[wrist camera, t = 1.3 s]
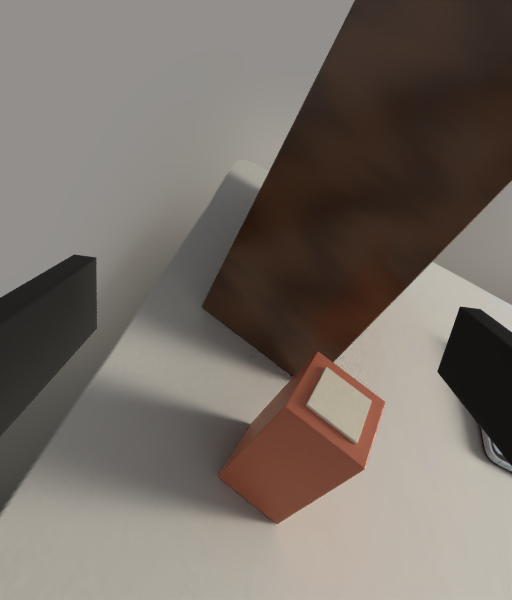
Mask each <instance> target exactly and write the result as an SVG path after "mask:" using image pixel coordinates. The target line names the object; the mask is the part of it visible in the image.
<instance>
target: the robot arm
mask: <svg viewBox="0 0 512 600" xmlns="http://www.w3.org/2000/svg"><path fill="white" fill-rule="evenodd" d="M96 302H97V301H96V258H95V257H88V256H80V255H73V256H71V257H69V258H68V259H66V260H64V261H62V262H61V263H59V264H57V265H56V266H54V267H52V268H51V269H49V270H47V271H46V272H44V273H42V274H40V275H38V276H37V277H35V278H34V279H32V280H30V281H28V282H26V283H25V284H23V285H21V286H20V287H18V288H16V289H15V290H13V291H11V292H9V293H8V294H6V295H4V296H3V297H1V298H0V436H1V435H2V434H3V433H4V431H5V430H6V429H7V428H8V427H9V426H10V424H12V422H13V421H14V420H15V419H16V418H17V417H18V416H19V415H20V414H21V412H22V411H23V410H24V409H25V408H26V407H27V406H28V405H29V404H30V402H31V401H32V400H33V399H34V398H35V397H36V396H37V394H38V393H39V392H40V391H41V390H42V389H43V388H44V387H45V386H46V385H47V383H48V382H49V381H50V380H51V379H52V378H53V377H54V376H55V375H56V373H57V372H58V371H59V370H60V369H61V368H62V367H63V366H64V364H65V363H66V362H67V361H68V360H69V359H70V358H71V357H72V356H73V354H74V353H75V352H76V351H77V350H78V349H79V348H80V346H81V345H82V344H83V343H84V342H85V341H86V340H87V339H88V338H89V337H90V335H91V334H92V333H93V332H94V331H95V330H96V329H97V323H96V322H97V315H96V314H97V311H96V310H97V308H96V307H97V305H96V304H97V303H96ZM438 373H439V375H440V376H441V377H442V378H443V380H444V381H445V382H446V383H447V385H448V386H449V387H450V388H451V390H452V391H453V392H454V394H455V395H456V396H457V397H458V399H459V400H460V401H461V402H462V404H463V405H464V406H465V408H466V409H467V410H468V411H469V413H470V414H471V415H472V416H473V418H474V419H475V420H476V422H477V423H478V424H479V425H480V427H481V428H482V429H483V430H484V432H485V433H486V434H487V435H488V437H489V438H490V439H491V441H492V442H493V443H494V444H495V446H496V447H497V448H498V449H499V451H500V452H501V453H502V455H503V456H504V457H505V458H506V460H507V461H508V462H509V463H510V465H511V466H512V332H511V331H509V330H508V329H506V328H505V327H504V326H502V325H501V324H500V323H498V322H497V321H496V320H494V319H493V318H492V317H490V316H489V315H488V314H486V313H485V312H483V311H482V310H481V309H474V308H467V307H460V308H459V311H458V314H457V317H456V320H455V323H454V326H453V328H452V331H451V334H450V337H449V340H448V343H447V346H446V349H445V351H444V354H443V357H442V360H441V363H440V366H439V369H438Z"/></svg>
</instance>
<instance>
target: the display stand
mask: <svg viewBox="0 0 512 600" xmlns="http://www.w3.org/2000/svg"><path fill="white" fill-rule="evenodd" d="M511 181H512V0H355V1H354V3H353V5H352V7H351V9H350V11H349V13H348V15H347V17H346V19H345V21H344V23H343V25H342V27H341V29H340V31H339V33H338V35H337V37H336V39H335V41H334V43H333V45H332V48H331V49H330V51H329V53H328V55H327V57H326V59H325V61H324V63H323V65H322V67H321V69H320V71H319V73H318V75H317V77H316V79H315V81H314V83H313V85H312V87H311V89H310V91H309V93H308V95H307V97H306V99H305V101H304V103H303V105H302V107H301V109H300V111H299V113H298V115H297V117H296V119H295V121H294V123H293V125H292V127H291V129H290V131H289V133H288V135H287V137H286V139H285V141H284V143H283V145H282V147H281V149H280V151H279V153H278V155H277V157H276V159H275V161H274V163H273V165H272V167H271V169H270V171H269V173H268V175H267V177H266V179H265V181H264V183H263V185H262V187H261V189H260V191H259V193H258V195H257V197H256V199H255V201H254V203H253V205H252V207H251V209H250V211H249V213H248V215H247V217H246V219H245V221H244V223H243V225H242V227H241V229H240V231H239V233H238V235H237V237H236V239H235V241H234V243H233V245H232V247H231V249H230V251H229V253H228V255H227V257H226V259H225V261H224V263H223V265H222V267H221V269H220V271H219V273H218V275H217V277H216V279H215V281H214V283H213V285H212V287H211V289H210V291H209V293H208V295H207V297H206V299H205V301H204V303H203V305H202V307H203V308H204V309H205V310H207V311H208V312H209V313H211V314H212V315H213V316H215V317H216V318H217V319H218V320H220V321H221V322H222V323H224V324H225V325H226V326H228V327H229V328H230V329H232V330H233V331H234V332H235V333H237V334H238V335H239V336H241V337H242V338H243V339H245V340H246V341H247V342H249V343H250V344H251V345H252V346H254V347H255V348H256V349H258V350H259V351H260V352H262V353H263V354H264V355H265V356H267V357H268V358H269V359H271V360H272V361H273V362H275V363H276V364H277V365H279V366H280V367H281V368H282V369H284V370H285V371H286V372H288V373H289V374H290V375H292V376H293V377H294V376H295V375H296V374H297V372H298V371H299V370H300V369H301V368H302V367H303V366H304V365H305V364H306V362H307V361H308V360H309V359H310V358H311V357H312V356H313V355H314V354H315V353H316V352H317V351H318V352H320V353H321V354H322V355H324V356H325V357H326V358H328V359H329V360H330V361H332V362H334V361H335V360H336V359H337V358H338V357H339V356H340V355H341V354H342V353H343V352H344V351H345V350H346V349H347V348H348V347H349V346H350V345H351V344H352V343H353V342H354V341H355V340H356V339H357V338H358V337H359V336H360V335H361V334H362V333H363V332H364V331H365V330H366V329H367V328H368V327H369V325H370V324H371V323H372V322H373V321H374V320H375V319H376V318H377V317H378V316H379V315H380V314H381V313H382V312H383V311H384V310H385V309H386V308H387V307H388V306H389V305H390V304H391V303H392V302H393V301H394V300H395V299H396V298H397V297H398V296H399V295H400V294H401V293H402V292H403V291H404V290H405V289H406V288H407V287H408V286H409V285H410V284H411V283H412V282H413V281H414V280H415V279H416V278H417V277H418V276H419V275H420V274H421V273H422V272H423V271H424V270H425V269H426V268H427V267H428V266H429V265H430V264H431V262H432V261H433V260H434V259H435V258H436V257H437V256H438V255H439V254H440V253H441V252H442V251H443V250H444V249H445V248H446V247H447V246H448V245H449V244H450V243H451V242H452V241H453V240H454V239H455V238H456V237H457V236H458V235H459V234H460V233H461V232H462V231H463V230H464V229H465V228H466V227H467V226H468V225H469V224H470V223H471V222H472V221H473V220H474V219H475V218H476V217H477V216H478V215H479V214H480V213H481V212H482V211H483V209H485V208H486V207H487V206H488V204H490V203H491V202H492V200H493V199H494V198H495V197H496V196H497V195H498V194H499V193H500V192H501V191H502V190H503V189H504V188H505V187H506V186H507V185H508V184H509V183H510V182H511Z"/></svg>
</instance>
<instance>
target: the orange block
mask: <svg viewBox="0 0 512 600" xmlns="http://www.w3.org/2000/svg"><path fill="white" fill-rule="evenodd" d="M384 405H385V401H383V400H382V399H381V398H379V397H378V396H377V395H375V394H374V393H373V392H371V391H370V390H369V389H367V388H366V387H365V386H363V385H362V384H361V383H359V382H358V381H357V380H355V379H354V378H353V377H351V376H350V375H349V374H347V373H346V372H345V371H343V370H342V369H341V368H340V367H338V366H337V365H336V364H334V363H333V362H332V361H330V360H329V359H328V358H326V357H325V356H324V355H322V354H321V353H320V352H318V351H317V352H316V353H315V354H314V355H313V356H312V357H311V358H310V359H309V360H308V361H307V362H306V364H305V365H304V366H303V367H302V368H301V369H300V370H299V371H298V372H297V374H296V375H295V376H294V377H293V378H292V379H291V380H290V381H289V382H288V383H287V385H286V386H285V387H284V388H283V389H282V390H281V391H280V392H279V393H278V395H277V396H276V397H275V398H274V399H273V400H272V401H271V402H270V403H269V405H268V406H267V407H266V408H265V409H264V410H263V411H262V412H261V413H260V414H259V416H258V417H257V418H256V419H255V420H254V421H253V422H252V423H251V425H250V426H249V428H248V429H247V431H246V433H245V434H244V436H243V437H242V439H241V440H240V442H239V443H238V445H237V447H236V448H235V450H234V451H233V453H232V454H231V456H230V457H229V459H228V460H227V462H226V464H225V465H224V467H223V468H222V470H221V471H220V473H219V474H218V477H219V478H220V479H222V480H223V481H224V482H225V483H227V484H228V485H229V486H230V487H232V488H233V489H234V490H235V491H236V492H238V493H239V494H240V495H241V496H243V497H244V498H245V499H246V500H247V501H249V502H250V503H251V504H252V505H254V506H255V507H256V508H257V509H259V510H260V511H261V512H262V513H263V514H265V515H266V516H267V517H268V518H270V519H271V520H272V521H273V522H275V523H276V524H278V523H280V522H281V521H283V520H285V519H286V518H288V517H289V516H291V515H293V514H294V513H296V512H297V511H299V510H301V509H302V508H304V507H305V506H307V505H309V504H310V503H312V502H313V501H315V500H316V499H318V498H320V497H321V496H323V495H324V494H326V493H328V492H329V491H331V490H332V489H334V488H336V487H337V486H339V485H340V484H342V483H344V482H345V481H347V480H348V479H350V478H352V477H353V476H355V475H356V474H358V473H360V472H361V471H363V470H364V469H365V467H366V464H367V461H368V457H369V454H370V451H371V448H372V444H373V441H374V438H375V434H376V431H377V428H378V425H379V421H380V418H381V415H382V412H383V408H384Z"/></svg>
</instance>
